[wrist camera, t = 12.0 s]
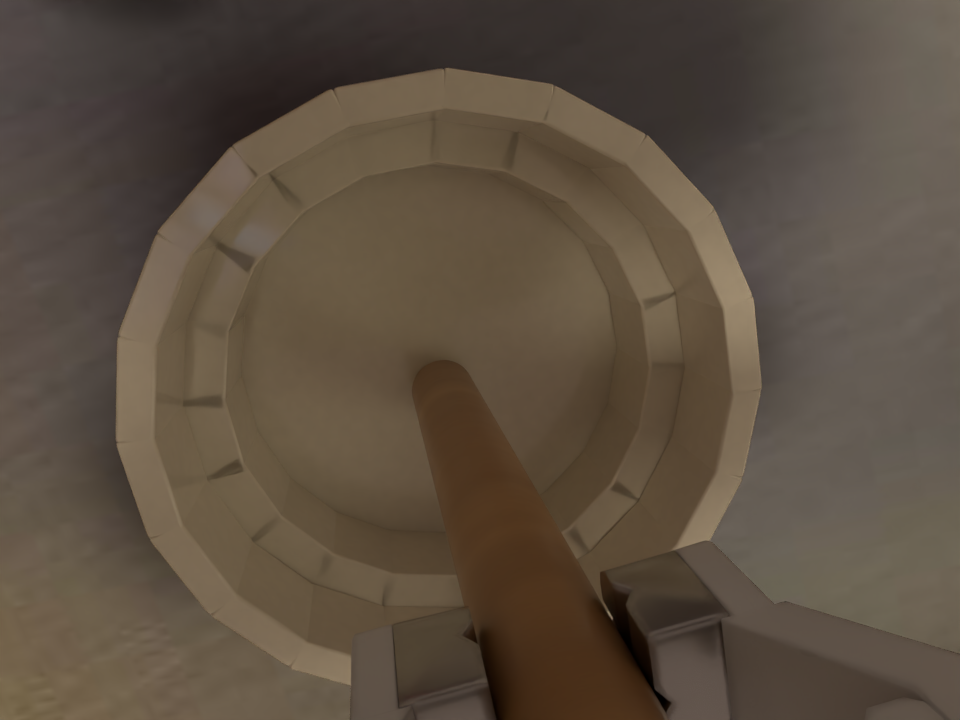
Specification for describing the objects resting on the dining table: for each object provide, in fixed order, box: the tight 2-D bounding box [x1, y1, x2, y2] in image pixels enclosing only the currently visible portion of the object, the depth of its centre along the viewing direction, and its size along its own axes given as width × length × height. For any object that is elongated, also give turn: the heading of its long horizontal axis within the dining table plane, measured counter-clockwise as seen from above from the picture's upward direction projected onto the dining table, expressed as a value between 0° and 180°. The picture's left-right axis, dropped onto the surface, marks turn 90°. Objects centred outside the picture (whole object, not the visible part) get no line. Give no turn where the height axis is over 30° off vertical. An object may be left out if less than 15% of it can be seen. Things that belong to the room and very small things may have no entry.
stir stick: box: [412, 360, 670, 720], centre depth 12 cm, size 2×2×18 cm
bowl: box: [115, 67, 762, 686], centre depth 19 cm, size 15×15×6 cm
